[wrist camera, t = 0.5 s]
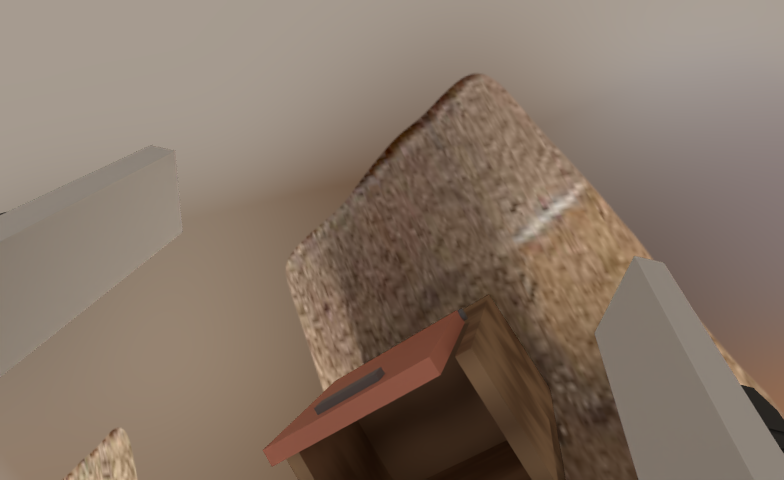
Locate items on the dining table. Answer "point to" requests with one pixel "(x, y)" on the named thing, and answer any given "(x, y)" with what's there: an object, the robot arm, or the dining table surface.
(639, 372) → the robot arm
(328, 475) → the wooden box
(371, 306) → the dining table surface
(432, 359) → the panel
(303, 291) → the dining table surface
